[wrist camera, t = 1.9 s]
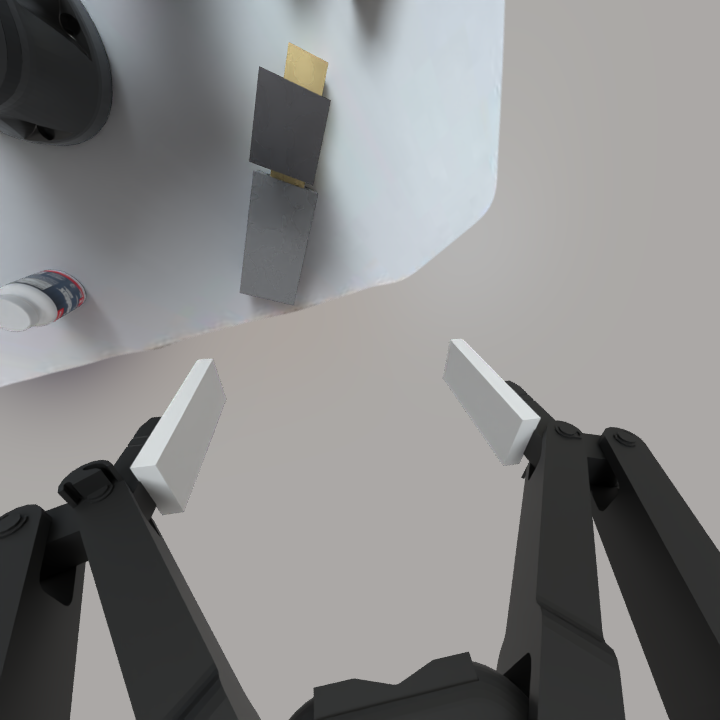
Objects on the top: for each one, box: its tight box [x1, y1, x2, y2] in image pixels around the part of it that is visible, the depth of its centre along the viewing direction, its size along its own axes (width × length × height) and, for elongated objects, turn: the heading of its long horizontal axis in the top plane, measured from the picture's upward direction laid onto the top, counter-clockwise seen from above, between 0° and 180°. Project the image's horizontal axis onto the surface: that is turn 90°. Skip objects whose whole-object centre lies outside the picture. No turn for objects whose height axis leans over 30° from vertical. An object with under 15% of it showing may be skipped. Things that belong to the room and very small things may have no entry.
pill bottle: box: [0, 270, 86, 332], centre depth 34 cm, size 5×5×9 cm
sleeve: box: [240, 170, 318, 305], centre depth 37 cm, size 14×7×6 cm, turn 162°
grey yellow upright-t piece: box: [249, 43, 331, 188], centre depth 28 cm, size 24×4×17 cm, turn 162°
